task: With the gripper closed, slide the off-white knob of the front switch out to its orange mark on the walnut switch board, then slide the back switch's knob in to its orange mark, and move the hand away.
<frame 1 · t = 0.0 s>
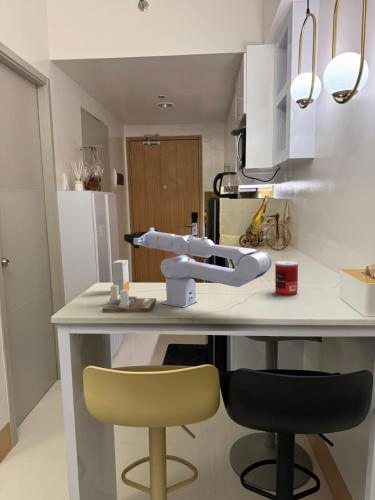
hand: (132, 236, 131), 22 cm above the worktop, tool horizontal, fingers open, 7 cm apart
knob front: (124, 297, 117), point 4 cm above the worktop, slide at 0.0 cm
switch board: (130, 306, 121), on the worktop
canned food: (286, 293, 131), on the worktop
skincare box: (121, 292, 140), on the worktop
knob back: (114, 292, 124), point 4 cm above the worktop, slide at 5.0 cm
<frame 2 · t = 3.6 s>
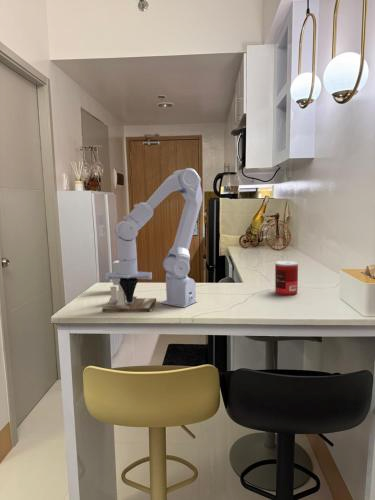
hand: (130, 301, 117), 3 cm above the worktop, tool pointing down, fingers closed
knob front: (121, 297, 117), point 4 cm above the worktop, slide at 1.0 cm, touching gripper
everything else where it was.
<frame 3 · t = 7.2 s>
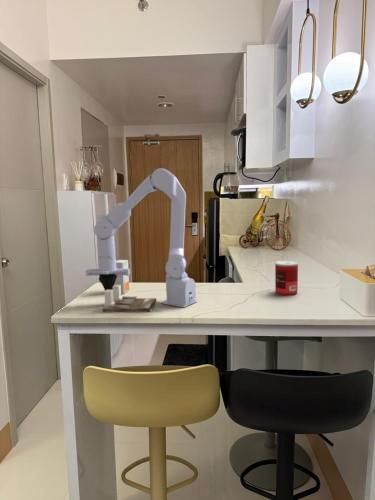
hand: (109, 296, 124), 3 cm above the worktop, tool pointing down, fingers closed
knob front: (109, 297, 118), point 4 cm above the worktop, slide at 5.1 cm
knob back: (117, 292, 124), point 4 cm above the worktop, slide at 4.2 cm, touching gripper
everything else where it was.
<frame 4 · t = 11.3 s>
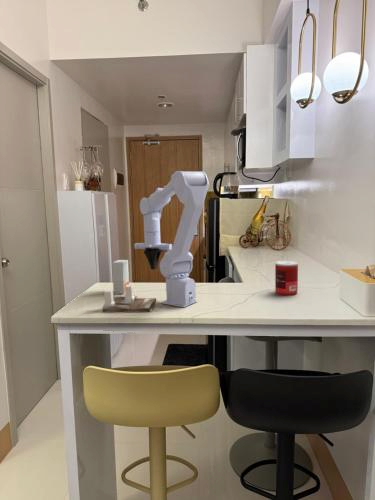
hand: (153, 268, 134), 9 cm above the worktop, tool pointing down, fingers closed
knob back: (129, 292, 123), point 4 cm above the worktop, slide at -0.1 cm
everything else where it was.
at the end: knob front slide at 5.1 cm; knob back slide at -0.1 cm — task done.
